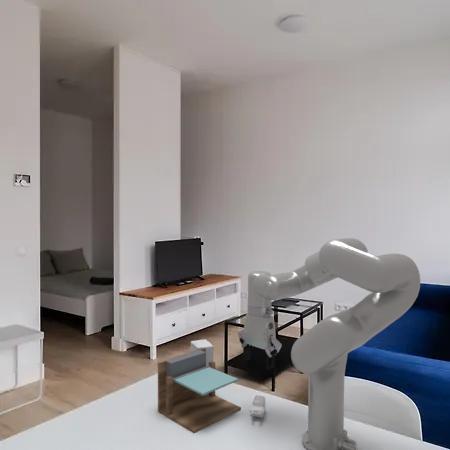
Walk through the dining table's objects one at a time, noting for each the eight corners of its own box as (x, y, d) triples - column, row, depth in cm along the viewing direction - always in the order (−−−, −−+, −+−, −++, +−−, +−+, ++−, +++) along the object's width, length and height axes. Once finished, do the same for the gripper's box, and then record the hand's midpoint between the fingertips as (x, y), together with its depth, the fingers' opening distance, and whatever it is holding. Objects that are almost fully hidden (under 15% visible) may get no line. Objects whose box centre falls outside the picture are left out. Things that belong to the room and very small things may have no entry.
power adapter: (261, 426, 120) (261, 409, 120) (247, 425, 121) (247, 408, 121) (267, 411, 130) (267, 395, 130) (254, 409, 131) (254, 394, 131)
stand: (240, 409, 131) (241, 361, 130) (194, 433, 117) (194, 378, 116) (204, 392, 143) (204, 348, 143) (157, 411, 129) (157, 362, 129)
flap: (239, 382, 128) (239, 363, 128) (201, 398, 117) (201, 378, 117) (201, 366, 141) (201, 349, 141) (163, 379, 130) (163, 361, 130)
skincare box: (189, 381, 153) (189, 340, 153) (205, 378, 156) (205, 338, 155) (197, 390, 145) (197, 347, 145) (214, 386, 148) (214, 345, 148)
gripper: (288, 313, 124) (287, 368, 124) (247, 303, 136) (246, 353, 136) (273, 318, 118) (272, 375, 119) (231, 307, 131) (230, 359, 131)
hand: (258, 363), depth 128 cm, fingers open, 9 cm apart
